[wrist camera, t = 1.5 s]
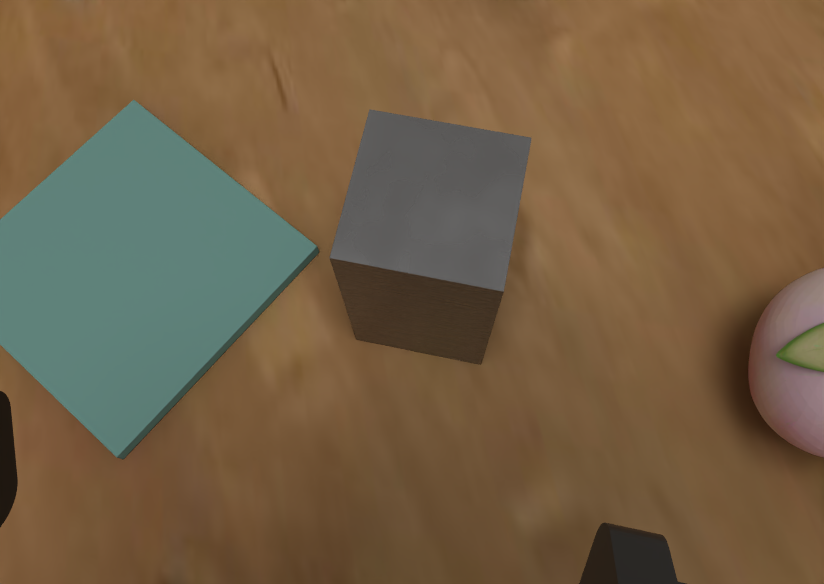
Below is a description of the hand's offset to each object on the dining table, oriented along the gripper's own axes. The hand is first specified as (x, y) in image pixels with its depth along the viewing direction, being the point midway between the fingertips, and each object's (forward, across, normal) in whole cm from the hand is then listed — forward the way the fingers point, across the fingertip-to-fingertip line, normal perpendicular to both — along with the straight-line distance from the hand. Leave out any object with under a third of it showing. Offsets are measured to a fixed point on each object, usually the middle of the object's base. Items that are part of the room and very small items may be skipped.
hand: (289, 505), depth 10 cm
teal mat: (+26, +16, +10) cm, 32 cm away
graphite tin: (+27, 0, +9) cm, 28 cm away
